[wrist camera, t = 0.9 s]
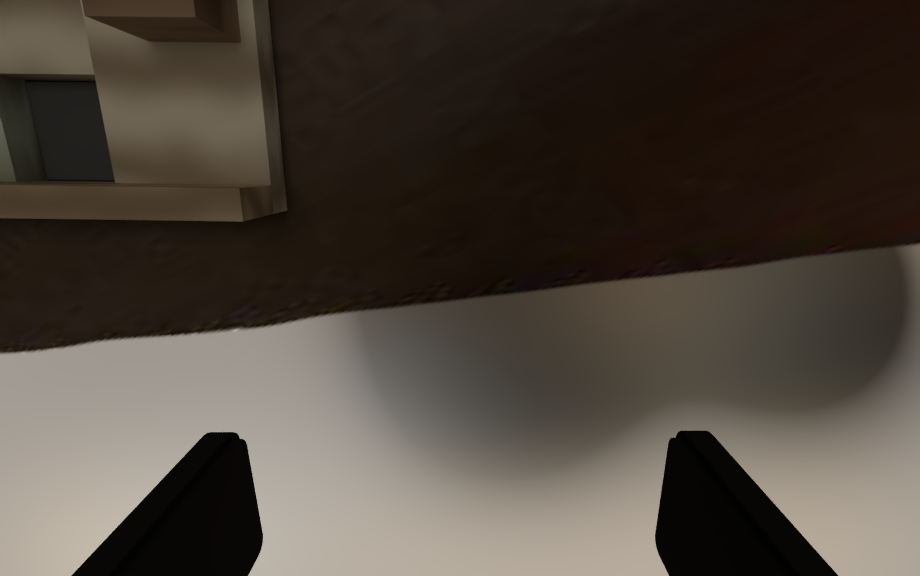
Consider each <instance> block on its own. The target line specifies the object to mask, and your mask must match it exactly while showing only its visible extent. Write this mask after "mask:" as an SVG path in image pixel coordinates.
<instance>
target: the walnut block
mask: <svg viewBox="0 0 920 576" xmlns="http://www.w3.org/2000/svg"><path fill="white" fill-rule="evenodd" d="M82 4H83V9H84V14H85V16H86V17H88V18H91V19H94V20H96V21H99V22H101V23H104V24H106V25H109V26H111V27H114V28H116V29H119V30H121V31H124V32H126V33H129V34H131V35H134V36H136V37H139V38H141V39H144V40H146V41H149V42H216V43H241V36H240V26H239V17H238V8H237V0H82Z"/></svg>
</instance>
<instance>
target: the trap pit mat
mask: <svg viewBox="0 0 920 576" xmlns="http://www.w3.org/2000/svg"><path fill="white" fill-rule="evenodd" d="M25 85H26V89H27V93H28V97H29V102H30V106H31V110H32V115H33V119H34V123H35V128H36V132H37V136H38V140H39V145H40V149H41V153H42V158H43V162H44V166H45V171H46V175H47V179H48V180H115V179H114V174H113V169H112V163H111V158H110V153H109V148H108V143H107V137H106V132H105V127H104V122H103V117H102V111H101V106H100V101H99V96H98V91H97V86H96V82H25Z"/></svg>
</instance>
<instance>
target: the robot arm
mask: <svg viewBox="0 0 920 576" xmlns="http://www.w3.org/2000/svg"><path fill="white" fill-rule="evenodd" d="M655 541H656V547H657V550H658V553H659V556H660V558H661V560H662V562H663V564H664V565H665V568H666V570H667V572H668V574H669V576H838V575H837V574H836V573H835V572H834V570H833V569H832V568H831V567H830V566H829V565H828V564H827V563H826V562H825V560H824V559H823V558H822V557H821V556H820V555H819V554H818V553H817V551H816V550H815V549H814V548H813V547H812V546H811V545H810V544H809V542H808V541H807V540H806V539H805V538H804V537H803V536H802V535H801V533H800V532H799V531H798V530H797V529H796V528H795V527H794V526H793V524H792V523H791V522H790V521H789V520H788V519H787V518H786V517H785V515H784V514H783V513H782V512H781V511H780V510H779V509H778V508H777V507H776V505H775V504H774V503H773V502H772V501H771V500H770V499H769V498H768V496H766V494H765V493H764V492H763V491H762V490H761V489H760V487H759V486H758V485H757V484H756V483H755V482H754V481H753V480H752V479H751V478H750V476H749V475H748V474H747V473H746V472H745V471H744V469H743V468H742V467H741V466H740V465H739V464H738V463H737V462H736V461H735V459H734V458H733V457H732V456H731V455H730V454H729V453H728V452H727V450H726V449H725V448H724V447H723V446H722V445H721V444H720V443H719V442H718V440H717V439H716V438H715V437H714V436H713V435H712V434H711V433H710V432H708V431H680V432H678V433H677V435H676V438H671V439H670V440H669V444H668V451H667V457H666V464H665V471H664V478H663V485H662V492H661V499H660V506H659V513H658V520H657V526H656V533H655ZM262 542H263V533H262V528H261V522H260V516H259V511H258V505H257V499H256V494H255V488H254V482H253V477H252V471H251V466H250V460H249V454H248V449H247V444H246V442H245V440H243V439H240V438H239V436H238V434H237V433H233V432H223V433H222V432H218V433H217V432H210V433H207V434H205V435H204V436H203V437H202V438H201V439H200V440H199V441H198V442H197V443H196V445H194V447H193V448H192V449H191V450H190V451H189V452H188V453H187V454H186V455H185V456H184V457H183V458H182V459H181V460H180V461H179V462H178V463H177V464H176V466H175V467H174V468H173V469H172V470H171V471H170V472H169V473H168V474H167V475H166V476H165V477H164V478H163V479H162V480H161V481H160V482H159V484H158V485H157V486H156V487H155V488H154V489H153V490H152V491H151V492H150V493H149V494H148V495H147V496H146V497H145V498H144V500H142V502H141V503H140V504H139V505H138V506H137V507H136V508H135V509H134V510H133V511H132V512H131V513H130V514H129V515H128V516H127V517H126V518H125V520H124V521H123V522H122V523H121V524H120V525H119V526H118V527H117V528H116V529H115V530H114V531H113V532H112V533H111V534H110V535H109V536H108V538H107V539H106V540H105V541H104V542H103V543H102V544H101V545H100V546H99V547H98V548H97V549H96V550H95V551H94V552H93V553H92V554H91V556H90V557H89V558H88V559H87V560H86V561H85V562H84V563H83V564H82V565H81V566H80V567H79V568H78V569H77V570H76V571H75V573H74V574H73V575H72V576H248V574H249V573H250V571H251V569H252V567H253V565H254V563H255V561H256V559H257V557H258V555H259V553H260V551H261V547H262Z"/></svg>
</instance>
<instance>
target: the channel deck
mask: <svg viewBox="0 0 920 576" xmlns="http://www.w3.org/2000/svg"><path fill="white" fill-rule="evenodd" d="M237 8H238V17H239V26H240V36H241V43H216V42H149V41H146V40H144V39H141V38H139V37H136V36H134V35H131V34H129V33H126V32H124V31H121V30H119V29H116V28H114V27H111V26H109V25H106V24H104V23H101V22H99V21H96V20H94V19H91V18H88V17H86V16H85V14H84V9H83V4H82V0H0V218H29V219H101V220H172V221H247V220H251V219H255V218H259V217H263V216H267V215H272V214H276V213H280V212H284V211H287V201H286V190H285V179H284V168H283V157H282V147H281V136H280V125H279V114H278V103H277V92H276V81H275V70H274V59H273V48H272V38H271V27H270V16H269V5H268V0H237ZM26 81H96V86H97V91H98V96H99V101H100V106H101V111H102V117H103V122H104V127H105V132H106V137H107V143H108V148H109V153H110V158H111V163H112V169H113V174H114V179H115V182H103V181H49V180H48V179H47V175H46V171H45V166H44V162H43V158H42V153H41V149H40V145H39V140H38V136H37V132H36V128H35V123H34V119H33V115H32V110H31V106H30V102H29V97H28V93H27V89H26V85H25V82H26Z"/></svg>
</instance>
